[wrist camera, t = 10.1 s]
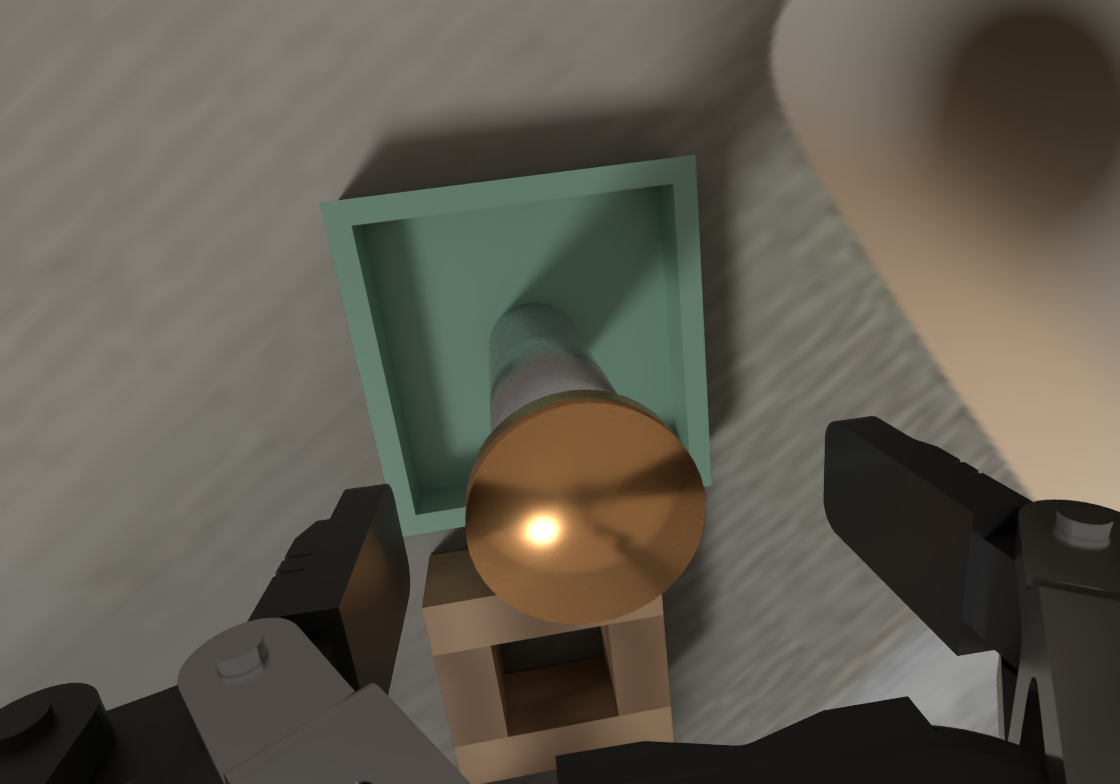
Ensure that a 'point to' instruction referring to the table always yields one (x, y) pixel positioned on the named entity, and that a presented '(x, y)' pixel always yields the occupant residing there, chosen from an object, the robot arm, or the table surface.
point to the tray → (504, 283)
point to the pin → (575, 482)
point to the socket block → (538, 679)
